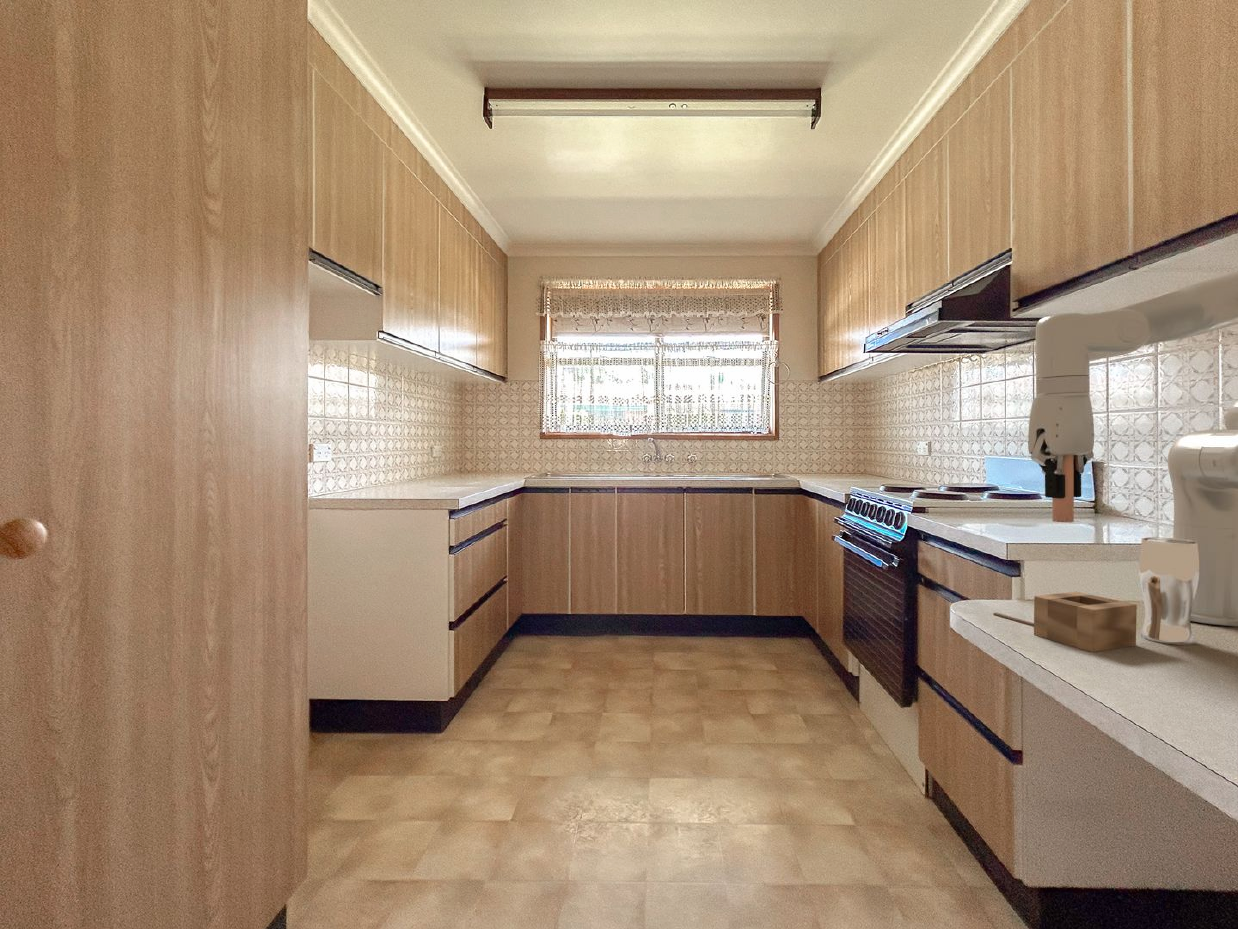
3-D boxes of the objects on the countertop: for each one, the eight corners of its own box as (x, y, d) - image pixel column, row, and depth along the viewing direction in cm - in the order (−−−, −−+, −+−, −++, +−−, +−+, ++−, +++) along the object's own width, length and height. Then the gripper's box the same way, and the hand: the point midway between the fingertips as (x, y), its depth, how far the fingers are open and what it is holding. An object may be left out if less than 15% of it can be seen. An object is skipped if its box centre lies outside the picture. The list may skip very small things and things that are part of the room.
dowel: (1061, 519, 114) (1060, 450, 114) (1078, 521, 111) (1077, 450, 111) (1048, 520, 113) (1047, 451, 113) (1065, 522, 110) (1064, 451, 110)
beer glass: (1209, 647, 95) (1211, 544, 95) (1154, 645, 97) (1156, 543, 96) (1178, 634, 102) (1181, 537, 102) (1127, 631, 104) (1129, 536, 103)
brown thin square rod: (996, 614, 114) (996, 612, 114) (1050, 629, 105) (1050, 628, 105) (993, 614, 114) (993, 613, 114) (1047, 630, 105) (1047, 628, 104)
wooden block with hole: (1075, 629, 105) (1076, 591, 105) (1135, 645, 97) (1136, 604, 96) (1033, 634, 102) (1034, 596, 102) (1091, 651, 94) (1092, 610, 94)
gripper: (1075, 390, 118) (1076, 493, 118) (1006, 390, 112) (1007, 498, 113) (1119, 386, 110) (1119, 496, 111) (1047, 386, 105) (1048, 501, 106)
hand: (1063, 496), depth 112 cm, fingers closed on dowel, 3 cm apart
